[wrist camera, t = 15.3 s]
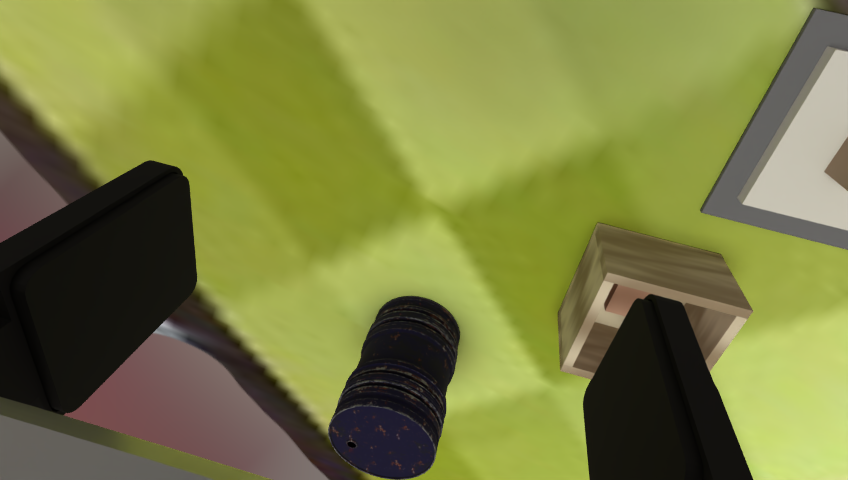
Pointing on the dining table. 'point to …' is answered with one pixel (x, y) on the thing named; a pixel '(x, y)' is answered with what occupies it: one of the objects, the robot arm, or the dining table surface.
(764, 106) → the mat
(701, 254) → the crate
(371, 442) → the storage jar
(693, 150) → the dining table surface
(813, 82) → the lid
